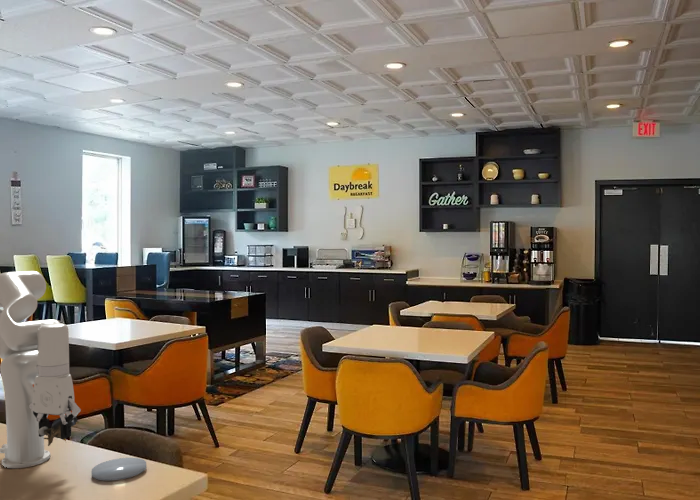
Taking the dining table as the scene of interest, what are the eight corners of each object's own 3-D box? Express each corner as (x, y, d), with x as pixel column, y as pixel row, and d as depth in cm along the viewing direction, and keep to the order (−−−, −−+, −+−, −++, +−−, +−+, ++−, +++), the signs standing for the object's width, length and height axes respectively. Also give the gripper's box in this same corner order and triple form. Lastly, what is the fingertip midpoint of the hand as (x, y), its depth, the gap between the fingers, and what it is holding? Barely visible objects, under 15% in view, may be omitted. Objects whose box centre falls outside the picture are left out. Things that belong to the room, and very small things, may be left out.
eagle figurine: (68, 441, 164) (84, 424, 172) (50, 421, 163) (67, 405, 171) (47, 456, 165) (64, 438, 174) (29, 436, 164) (47, 419, 173)
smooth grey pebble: (80, 480, 164) (79, 474, 164) (114, 461, 178) (113, 456, 178) (125, 484, 160) (125, 478, 160) (156, 465, 174) (156, 459, 174)
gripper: (16, 371, 164) (17, 437, 165) (70, 375, 160) (72, 444, 160) (37, 365, 172) (39, 428, 172) (90, 369, 167) (91, 434, 168)
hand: (55, 435), depth 166 cm, fingers closed on eagle figurine, 6 cm apart
